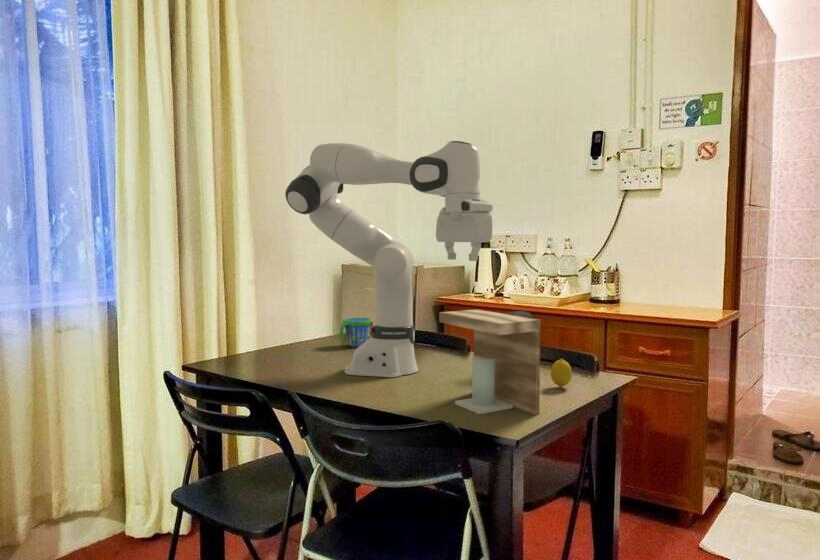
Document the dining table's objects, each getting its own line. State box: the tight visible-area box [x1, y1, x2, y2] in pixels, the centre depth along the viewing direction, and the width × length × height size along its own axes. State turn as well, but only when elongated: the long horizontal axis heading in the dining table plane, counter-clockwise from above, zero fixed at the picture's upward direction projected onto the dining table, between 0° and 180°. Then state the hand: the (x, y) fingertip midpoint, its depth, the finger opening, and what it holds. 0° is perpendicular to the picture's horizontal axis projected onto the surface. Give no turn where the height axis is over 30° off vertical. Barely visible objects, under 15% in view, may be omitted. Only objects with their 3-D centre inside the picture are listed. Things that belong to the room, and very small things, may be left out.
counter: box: [438, 308, 541, 416], centre depth 148 cm, size 12×24×22 cm, turn 30°
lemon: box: [550, 358, 573, 389], centre depth 165 cm, size 6×6×8 cm
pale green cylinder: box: [471, 356, 495, 406], centre depth 148 cm, size 6×6×11 cm
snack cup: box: [338, 317, 374, 348], centre depth 230 cm, size 16×10×10 cm
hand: (462, 260), depth 156 cm, fingers open, 8 cm apart
